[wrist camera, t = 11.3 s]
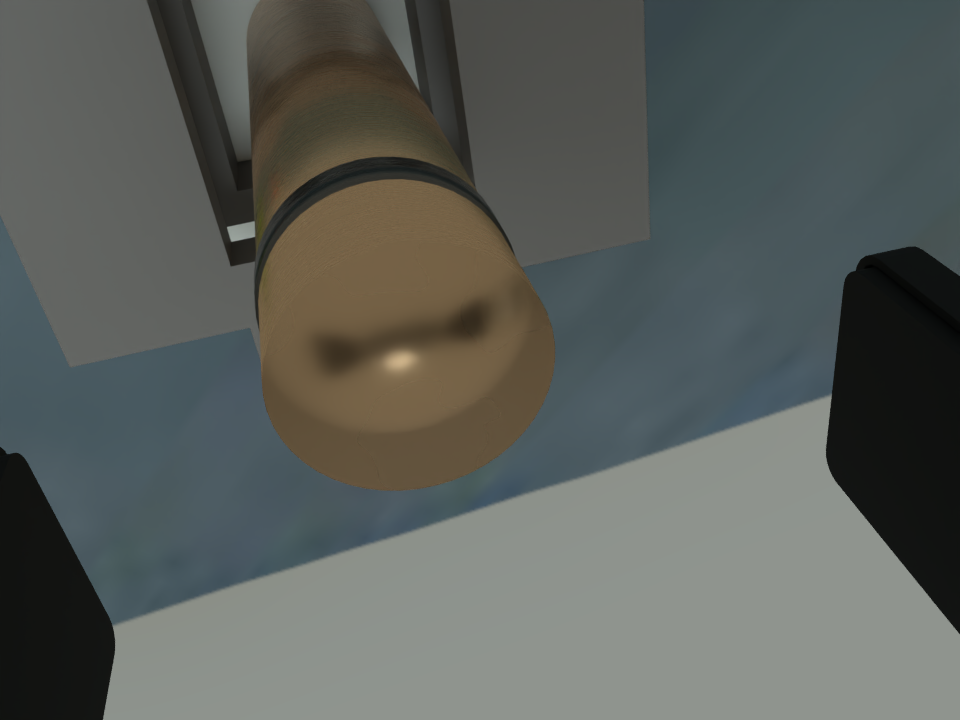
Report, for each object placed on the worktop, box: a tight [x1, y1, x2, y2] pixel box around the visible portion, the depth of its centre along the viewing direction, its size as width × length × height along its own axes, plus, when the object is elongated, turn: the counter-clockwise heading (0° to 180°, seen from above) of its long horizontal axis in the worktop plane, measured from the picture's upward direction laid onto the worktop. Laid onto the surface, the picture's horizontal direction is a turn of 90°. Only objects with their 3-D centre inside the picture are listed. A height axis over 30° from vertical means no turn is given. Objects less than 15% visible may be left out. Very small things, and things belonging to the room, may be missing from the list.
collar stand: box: [0, 0, 650, 367], centre depth 25 cm, size 18×14×8 cm
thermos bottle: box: [246, 0, 555, 491], centre depth 20 cm, size 4×4×18 cm
